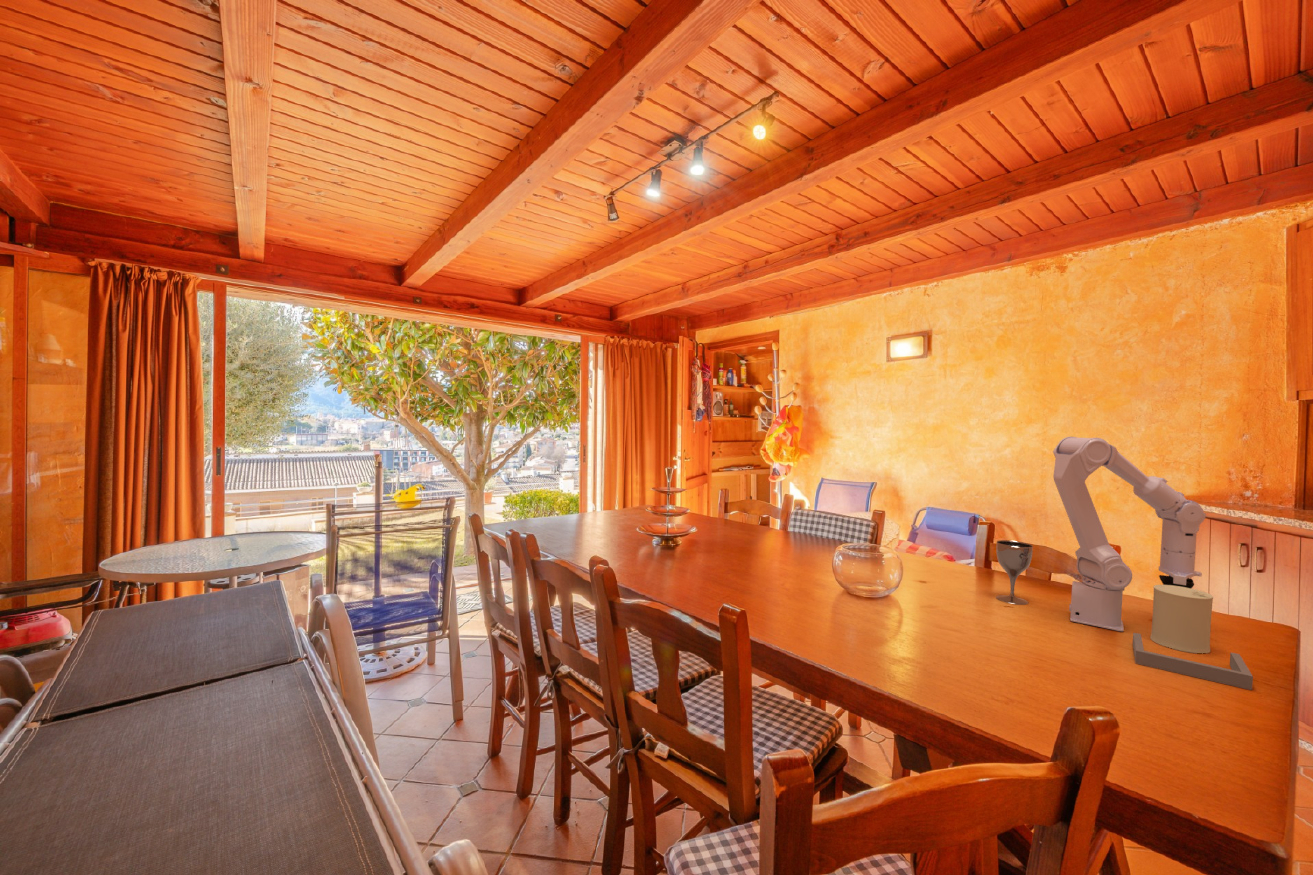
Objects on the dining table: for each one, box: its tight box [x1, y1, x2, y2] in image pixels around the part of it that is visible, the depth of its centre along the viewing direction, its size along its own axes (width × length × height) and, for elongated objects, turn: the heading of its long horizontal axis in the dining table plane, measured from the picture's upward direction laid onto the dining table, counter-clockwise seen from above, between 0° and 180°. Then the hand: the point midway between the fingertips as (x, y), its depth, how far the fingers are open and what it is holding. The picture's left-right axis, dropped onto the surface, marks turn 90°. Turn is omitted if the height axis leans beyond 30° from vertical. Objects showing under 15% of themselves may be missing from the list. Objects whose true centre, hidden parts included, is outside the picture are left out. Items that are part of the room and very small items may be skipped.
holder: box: [1132, 632, 1254, 691], centre depth 104 cm, size 15×12×2 cm
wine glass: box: [995, 539, 1034, 606], centre depth 141 cm, size 8×8×15 cm
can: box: [1149, 584, 1214, 655], centre depth 114 cm, size 9×9×12 cm
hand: (1174, 608), depth 124 cm, fingers closed
